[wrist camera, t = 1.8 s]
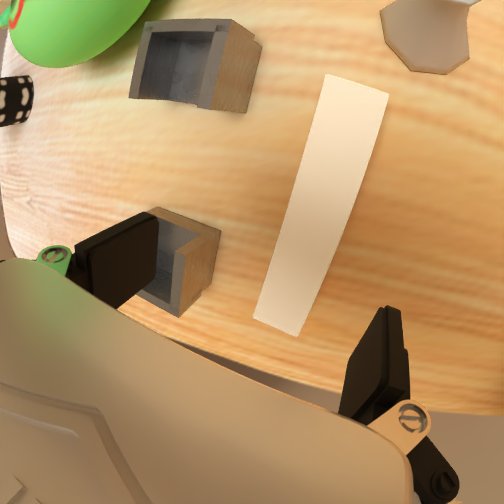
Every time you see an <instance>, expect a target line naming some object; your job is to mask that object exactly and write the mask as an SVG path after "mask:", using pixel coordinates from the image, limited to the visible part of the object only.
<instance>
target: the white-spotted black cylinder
mask: <svg viewBox="0 0 504 504" xmlns="http://www.w3.org/2000/svg"><path fill="white" fill-rule="evenodd" d="M32 103H33V82H32V79H31V78H30V77H29V76H27V75H26V76H14V77H4V78H0V127H3V126H8V125H13V124H18V123H23V122H25V121H26V120H27V118H28V116H29V114H30V111H31V108H32Z"/></svg>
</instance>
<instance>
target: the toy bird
mask: <svg viewBox="0 0 504 504" xmlns="http://www.w3.org/2000/svg"><path fill="white" fill-rule="evenodd" d="M150 1H151V0H11V4H10V5H9V6H8V8H7V9H6V10H5V11H4V12H3V13H2V15H1V16H0V28H4V27H7V26H9V31H10V36H11V40H12V42H13V45H14V46H15V48H16V50H17V51H18V52H19V53H20V54H21V55H22V56H23V57H24V58H25V59H26V60H28V61H30V62H31V63H33V64H36V65H39V66H42V67H47V68H64V67H69V66H73V65H77V64H80V63H83V62H85V61H87V60H89V59H91V58H93V57H95V56H97V55H99V54H100V53H102V52H103V51H105V50H106V49H107V48H109V47H110V46H111V45H112V44H114V43H115V42H116V41H117V40H118V39H119V38H121V37H122V36H123V35H124V34H125V33H126V32H127V31H128V30H129V29H130V28H131V26H132V25H133V24H134V23H135V22H136V21H137V19H138V18H139V17H140V16H141V14H142V13H143V12H144V10H145V9H146V7H147V6H148V4H149V3H150Z"/></svg>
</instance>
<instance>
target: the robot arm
mask: <svg viewBox="0 0 504 504" xmlns="http://www.w3.org/2000/svg"><path fill="white" fill-rule="evenodd" d="M158 235H159V221H158V220H157V217H156V216H155V215H153V214H150V213H147V212H142V213H139V214H137V215H135V216H133V217H131V218H129V219H126V220H124V221H122V222H120V223H118V224H116V225H114V226H112V227H110V228H108V229H106V230H103V231H101V232H99V233H97V234H95V235H93V236H91V237H89V238H87V239H86V240H84V241H82V242H80V243H78V244H76V245H74V246H75V253H74V254H72V252H71V250H70V249H69V248H67V247H65V246H60V245H55V246H50V247H47V248H45V249H43V250H42V251H41V252H40V253H39V255H38V257H37V259H36V260H29V259H24V258H11V259H8V260H1V261H0V504H462V502H461V501H459V502H457V501H456V498H455V497H456V495H457V494H458V490H459V479H458V476H457V474H456V472H455V471H454V470H453V468H452V467H451V466H450V464H449V463H448V462H447V461H446V459H445V458H444V457H443V456H442V454H441V453H440V452H439V451H438V449H437V448H436V447H435V446H434V444H433V443H432V442H431V441H430V439H429V438H428V437H427V436H426V435H427V434H428V432H429V431H430V428H431V418H430V415H429V413H428V411H427V410H426V409H425V407H423V406H422V405H421V404H420V403H418V402H416V401H413V400H410V376H409V360H408V351H407V350H406V349H405V348H404V341H403V330H402V320H401V311H400V310H398V309H396V308H393V307H390V306H388V305H387V306H385V307H384V308H382V307H380V308H379V309H378V311H377V313H376V315H375V316H374V318H373V320H372V322H371V323H370V325H369V327H368V329H367V330H366V332H365V334H364V335H363V337H362V339H361V340H360V342H359V344H358V345H357V347H356V348H355V350H354V352H353V353H352V355H351V356H350V358H349V361H348V364H347V369H346V375H345V381H344V386H343V391H342V397H341V402H340V407H339V411H338V414H337V413H335V412H332V411H329V410H327V409H324V408H322V407H319V406H317V405H314V404H311V403H309V402H306V401H303V400H300V399H297V398H295V397H293V396H290V395H288V394H285V393H283V392H280V391H278V390H275V389H273V388H270V387H268V386H266V385H263V384H261V383H259V382H256V381H254V380H252V379H249V378H247V377H245V376H243V375H240V374H238V373H236V372H234V371H231V370H229V369H227V368H225V367H223V366H221V365H218V364H217V363H215V362H212V361H210V360H208V359H206V358H204V357H202V356H200V355H198V354H196V353H194V352H192V351H190V350H188V349H186V348H184V347H182V346H180V345H179V344H177V343H175V342H173V341H171V340H169V339H167V338H165V337H163V336H162V335H160V334H158V333H156V332H154V331H153V330H151V329H149V328H147V327H145V326H144V325H142V324H140V323H138V322H137V321H135V320H133V319H132V318H130V317H128V316H126V315H125V314H123V313H121V312H120V311H118V310H116V309H117V308H119V307H120V306H121V305H122V304H124V303H125V302H126V301H127V300H129V299H130V298H131V297H132V296H134V295H135V294H136V293H138V292H139V291H140V290H141V289H143V288H144V287H145V286H147V285H148V284H149V283H150V282H152V281H153V279H154V278H155V275H156V263H157V248H158Z"/></svg>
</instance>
